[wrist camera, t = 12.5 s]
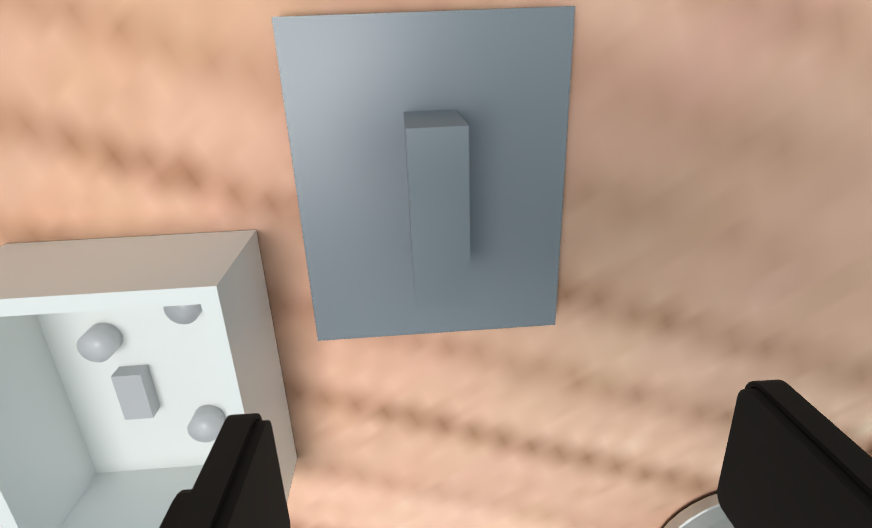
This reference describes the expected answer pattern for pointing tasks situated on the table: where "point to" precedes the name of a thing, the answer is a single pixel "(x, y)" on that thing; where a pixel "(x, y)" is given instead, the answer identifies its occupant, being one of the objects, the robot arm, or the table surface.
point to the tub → (129, 372)
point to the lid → (429, 165)
